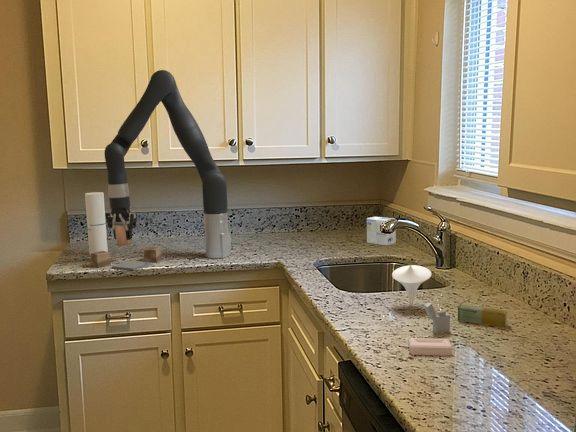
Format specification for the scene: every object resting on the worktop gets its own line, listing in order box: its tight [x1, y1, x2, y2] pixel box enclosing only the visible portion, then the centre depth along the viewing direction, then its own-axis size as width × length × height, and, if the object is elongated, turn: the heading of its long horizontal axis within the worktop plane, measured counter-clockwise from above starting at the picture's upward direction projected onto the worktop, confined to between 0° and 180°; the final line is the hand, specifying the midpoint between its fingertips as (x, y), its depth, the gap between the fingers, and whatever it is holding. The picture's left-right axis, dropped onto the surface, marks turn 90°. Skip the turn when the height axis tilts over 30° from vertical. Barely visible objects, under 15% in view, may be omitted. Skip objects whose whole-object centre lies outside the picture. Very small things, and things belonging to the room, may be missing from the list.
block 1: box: [90, 251, 112, 269], centre depth 226 cm, size 5×5×5 cm
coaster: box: [111, 259, 152, 271], centre depth 224 cm, size 10×10×1 cm
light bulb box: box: [366, 216, 397, 246], centre depth 255 cm, size 11×7×11 cm, turn 46°
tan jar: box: [114, 221, 132, 247], centre depth 231 cm, size 6×6×9 cm
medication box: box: [457, 303, 508, 328], centre depth 155 cm, size 12×3×4 cm, turn 61°
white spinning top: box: [391, 264, 432, 307], centre depth 169 cm, size 10×11×12 cm
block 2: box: [143, 246, 163, 264], centre depth 232 cm, size 5×5×5 cm
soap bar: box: [408, 337, 453, 356], centre depth 137 cm, size 5×9×2 cm, turn 84°
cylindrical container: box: [84, 191, 109, 257], centre depth 244 cm, size 7×7×25 cm
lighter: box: [422, 301, 451, 335], centre depth 148 cm, size 7×2×8 cm, turn 116°
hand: (123, 239), depth 232 cm, fingers closed on tan jar, 5 cm apart
